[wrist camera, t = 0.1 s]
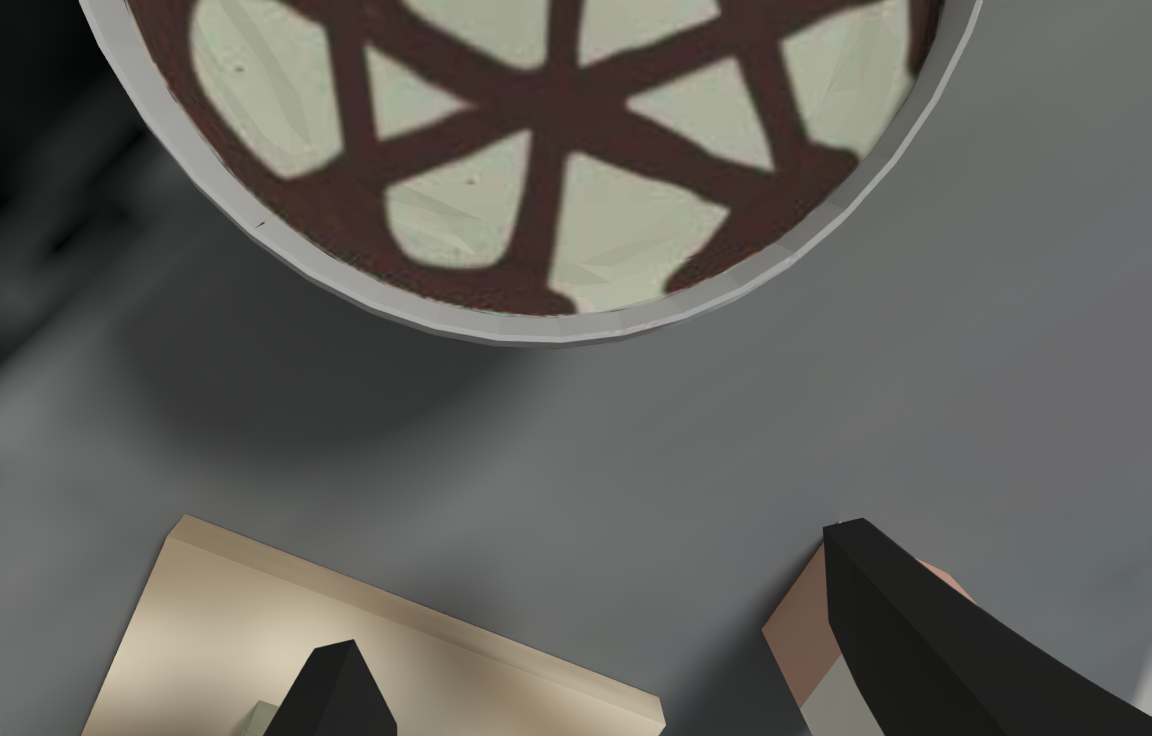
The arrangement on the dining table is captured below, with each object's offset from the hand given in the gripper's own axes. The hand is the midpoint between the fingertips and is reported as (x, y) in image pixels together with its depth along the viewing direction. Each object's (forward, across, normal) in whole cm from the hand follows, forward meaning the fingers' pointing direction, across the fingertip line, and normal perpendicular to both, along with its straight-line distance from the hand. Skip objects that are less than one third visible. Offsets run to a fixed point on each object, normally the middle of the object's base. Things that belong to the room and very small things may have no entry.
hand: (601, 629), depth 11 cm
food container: (+12, -1, -5) cm, 13 cm away
